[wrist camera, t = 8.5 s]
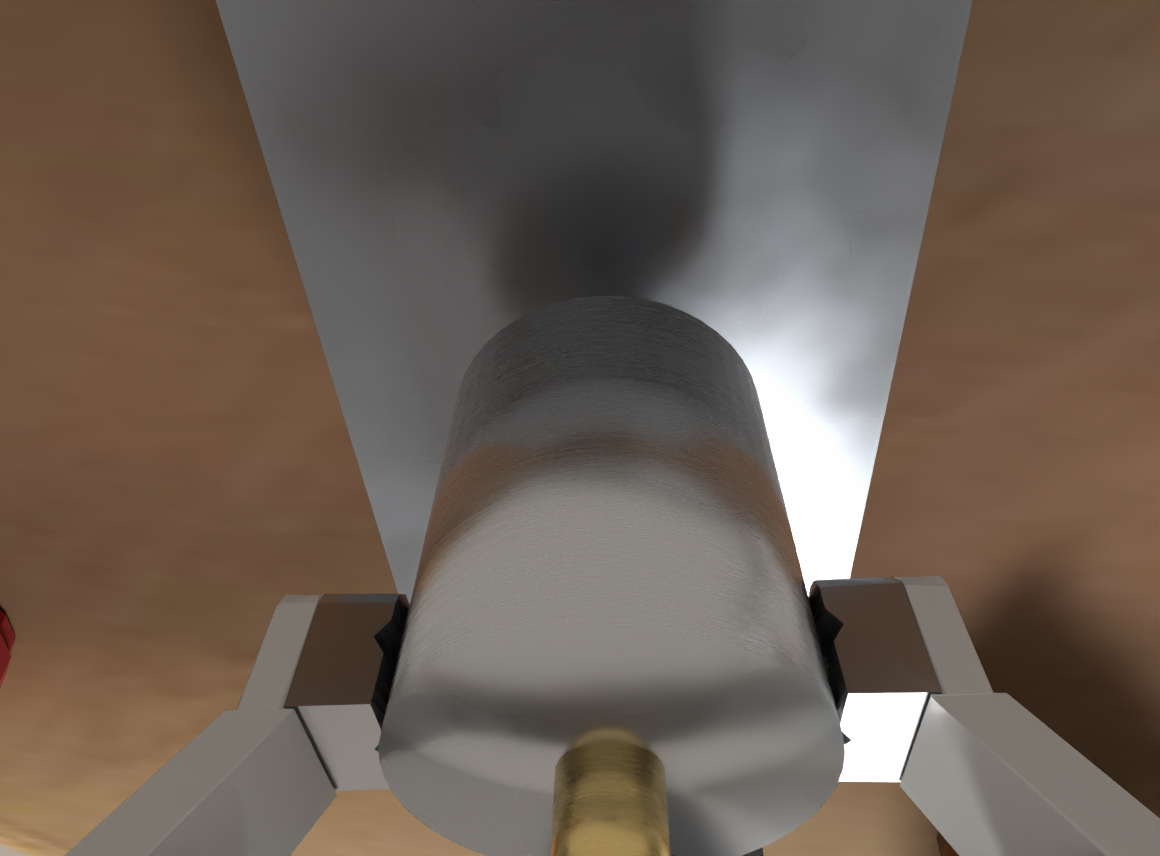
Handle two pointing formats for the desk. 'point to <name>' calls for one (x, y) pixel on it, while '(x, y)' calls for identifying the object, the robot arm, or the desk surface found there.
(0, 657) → the plastic cup
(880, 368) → the press
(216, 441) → the desk surface
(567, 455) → the cylinder
